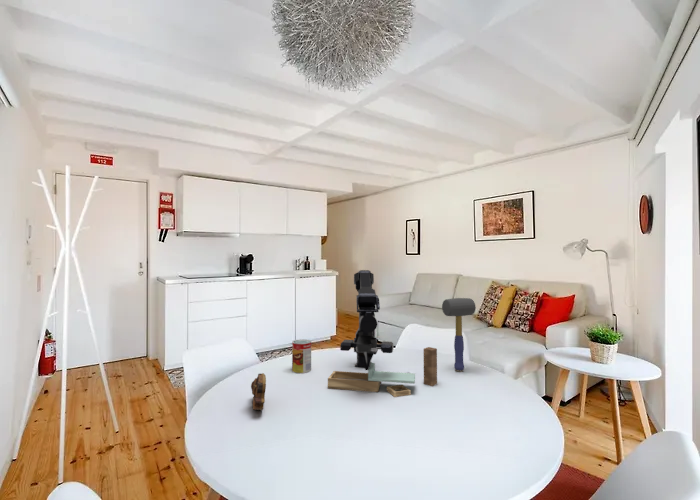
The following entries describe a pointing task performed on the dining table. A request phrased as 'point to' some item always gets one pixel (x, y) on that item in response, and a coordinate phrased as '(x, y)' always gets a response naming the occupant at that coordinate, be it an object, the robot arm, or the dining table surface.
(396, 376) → the lid
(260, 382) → the wooden carving
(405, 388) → the frame
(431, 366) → the brown block
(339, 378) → the wooden tray
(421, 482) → the dining table surface
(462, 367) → the rubber mallet
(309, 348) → the canned food
